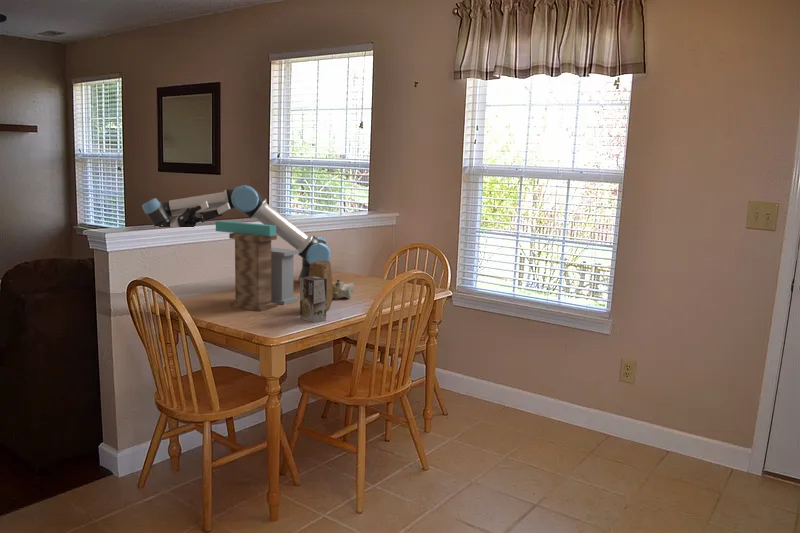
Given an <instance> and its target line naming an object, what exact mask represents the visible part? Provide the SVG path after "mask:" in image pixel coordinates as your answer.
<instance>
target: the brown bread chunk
mask: <svg viewBox="0 0 800 533" xmlns="http://www.w3.org/2000/svg"><path fill="white" fill-rule="evenodd" d="M331 268H332V265H331V261H330V260H329V261H320V260H318V261H314V262H312V263H311V264H310V272H309V276H316V277H321V278H325V279H327V295H326V312H327V311H329V309H330V308H331V305H332V302H333V298H332V288H333V283H334V282H333V273H332V269H331Z"/></svg>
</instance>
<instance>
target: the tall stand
mask: <svg viewBox="0 0 800 533" xmlns="http://www.w3.org/2000/svg"><path fill="white" fill-rule="evenodd" d="M228 233H229V234H228V235H229V236H228V239H231V240H232V239H233V240H234V272H235V273H234V275H235V276H234V279H235V280H234V282H235V283H234V284H235V286H234V287H235V288H234V289H235V290H234V291H235V294H234V295H235V297H234V298H235V300H234V301H232V302H230V303H229V307H233V308H239V309H245V310H251V311H256V312H264V311H267V310H270V309H271V310H272V309H273V308H274V309H275V308H277V306H278V304H277V303H272V302H271V248H272V241H274V240H275V241H276V240H277V239H278V237H277V236H278V235H277V234H276V236H262V235H251V234H240V233H230V232H228Z"/></svg>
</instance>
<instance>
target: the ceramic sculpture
mask: <svg viewBox="0 0 800 533" xmlns="http://www.w3.org/2000/svg"><path fill="white" fill-rule="evenodd" d="M332 283H333V288H332V300H337V299H341V298H346V299H350V298H352V293H353V292H354V287H355V282H354V281H353V282H351V283H344V281H342V280H339V279H337V280H336V282H332Z"/></svg>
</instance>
